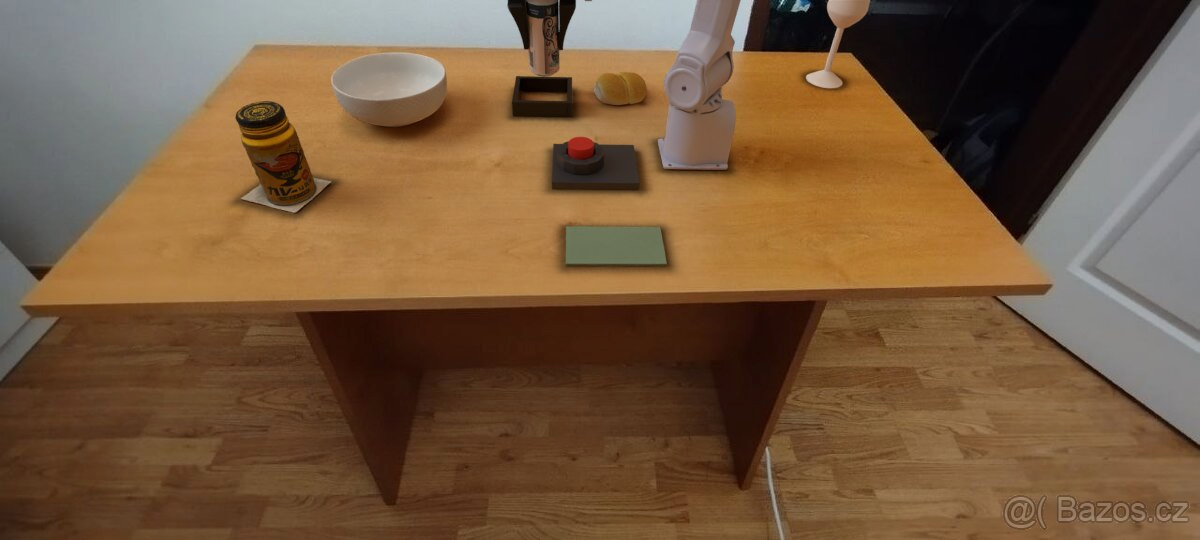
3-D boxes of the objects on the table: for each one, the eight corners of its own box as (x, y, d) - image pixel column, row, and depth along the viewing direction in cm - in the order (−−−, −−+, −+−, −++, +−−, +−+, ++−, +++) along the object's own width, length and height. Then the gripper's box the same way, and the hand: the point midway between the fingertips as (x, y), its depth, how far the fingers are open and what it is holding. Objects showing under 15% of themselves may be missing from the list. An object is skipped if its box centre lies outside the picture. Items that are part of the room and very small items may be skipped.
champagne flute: (847, 89, 106) (898, -58, 89) (810, 87, 105) (855, -60, 89) (836, 73, 110) (883, -69, 94) (801, 71, 110) (842, -71, 94)
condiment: (296, 213, 73) (261, 129, 65) (240, 200, 75) (200, 115, 67) (332, 182, 78) (304, 100, 70) (279, 170, 80) (246, 89, 72)
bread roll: (653, 103, 99) (655, 80, 96) (604, 109, 96) (605, 87, 94) (635, 82, 104) (636, 60, 102) (588, 88, 102) (588, 66, 99)
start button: (593, 147, 83) (593, 136, 81) (593, 161, 80) (594, 150, 79) (568, 147, 82) (568, 136, 81) (568, 160, 80) (567, 149, 79)
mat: (660, 229, 74) (660, 226, 73) (666, 266, 69) (667, 263, 68) (566, 228, 73) (566, 226, 73) (565, 266, 68) (565, 263, 68)
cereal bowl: (415, 152, 85) (406, 107, 80) (319, 130, 88) (305, 86, 83) (470, 101, 97) (465, 60, 92) (384, 84, 100) (375, 43, 95)
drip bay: (572, 90, 101) (572, 76, 99) (572, 117, 94) (572, 103, 92) (516, 89, 100) (516, 75, 99) (512, 116, 93) (511, 102, 92)
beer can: (555, 79, 90) (553, -1, 82) (525, 76, 91) (521, -5, 83) (562, 67, 94) (561, -12, 85) (534, 63, 94) (530, -15, 86)
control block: (633, 151, 87) (634, 133, 85) (638, 190, 80) (640, 171, 78) (553, 150, 86) (553, 132, 84) (551, 189, 79) (551, 170, 77)
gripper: (592, -56, 84) (590, 38, 93) (491, -59, 83) (499, 36, 92) (593, -42, 78) (591, 56, 88) (485, -45, 78) (495, 54, 87)
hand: (544, 47), depth 89 cm, fingers closed on beer can, 5 cm apart
